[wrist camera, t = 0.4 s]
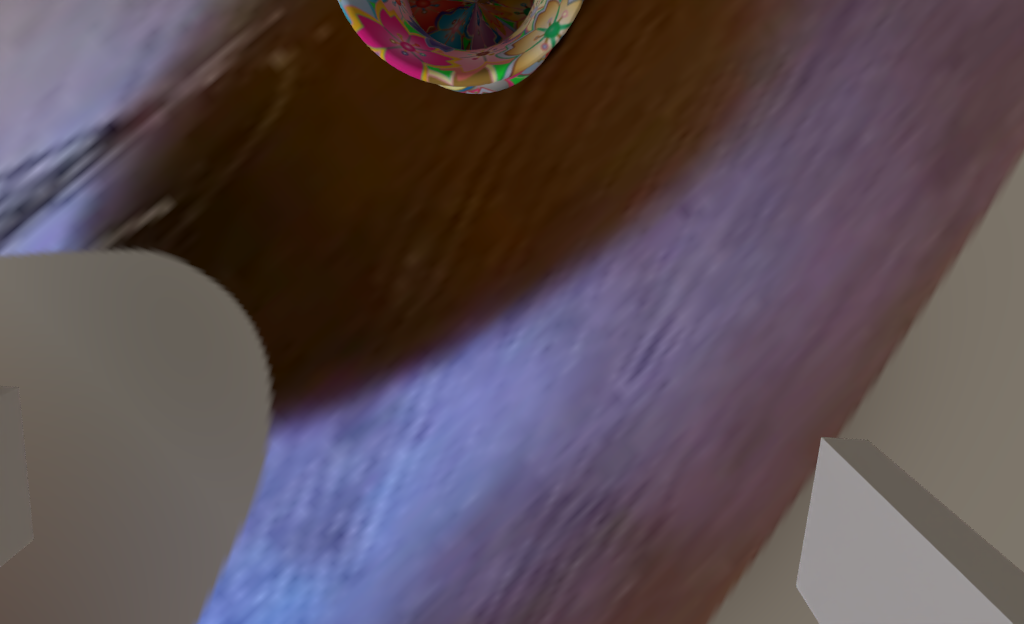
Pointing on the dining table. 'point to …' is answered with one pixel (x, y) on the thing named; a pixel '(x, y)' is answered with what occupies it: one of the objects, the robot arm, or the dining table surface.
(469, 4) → the mug
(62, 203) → the dining table surface
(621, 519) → the dining table surface
